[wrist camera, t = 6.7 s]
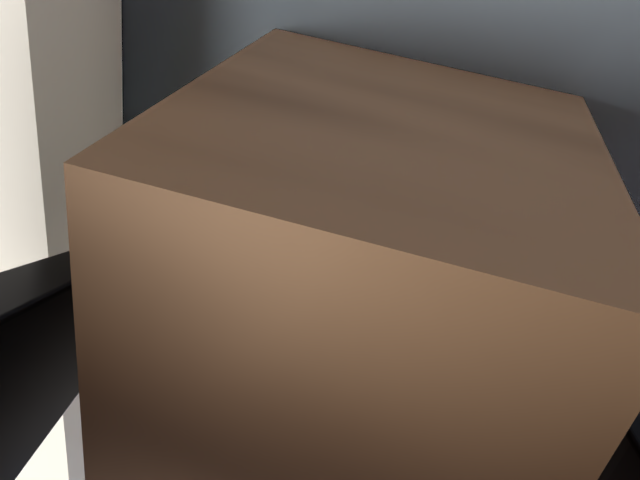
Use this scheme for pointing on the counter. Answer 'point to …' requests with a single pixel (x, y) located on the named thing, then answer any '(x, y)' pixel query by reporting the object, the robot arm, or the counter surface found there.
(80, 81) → the rail
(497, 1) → the counter surface
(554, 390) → the tea box
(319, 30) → the counter surface
